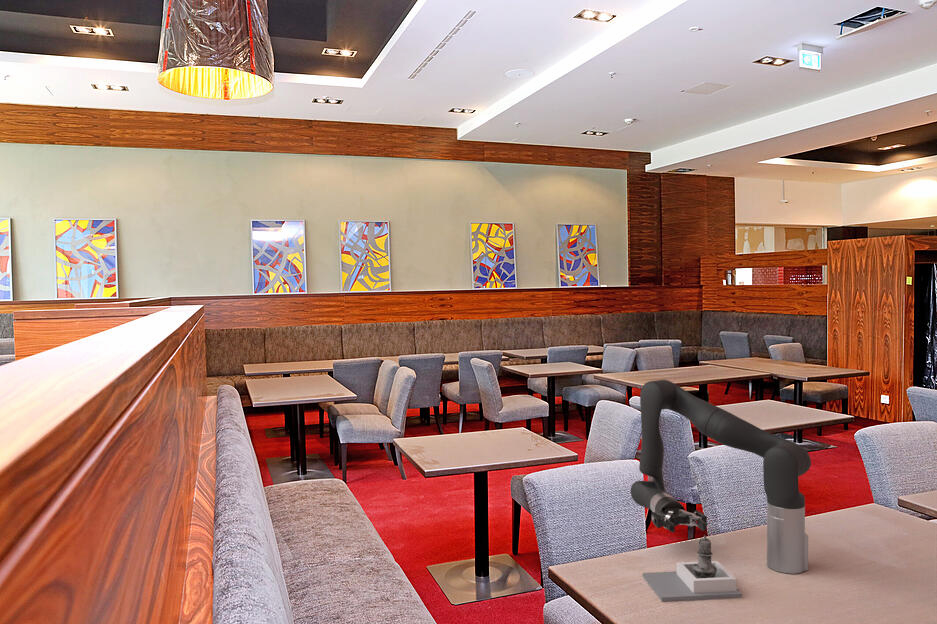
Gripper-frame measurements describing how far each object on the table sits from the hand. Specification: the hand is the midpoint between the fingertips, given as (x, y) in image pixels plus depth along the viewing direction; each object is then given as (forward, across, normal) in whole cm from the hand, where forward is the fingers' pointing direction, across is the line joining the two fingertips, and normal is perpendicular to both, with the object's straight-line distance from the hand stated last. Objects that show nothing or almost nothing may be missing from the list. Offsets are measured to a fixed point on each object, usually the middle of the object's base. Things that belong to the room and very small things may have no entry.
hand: (689, 528), depth 182 cm
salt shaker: (+11, 0, +10) cm, 15 cm away
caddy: (+11, -4, +11) cm, 16 cm away
